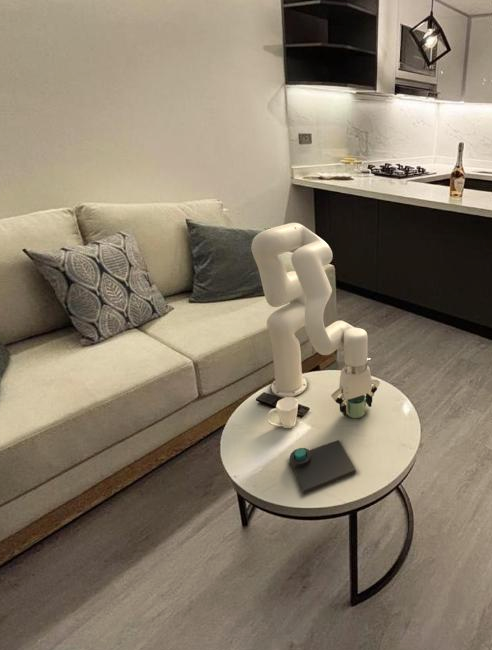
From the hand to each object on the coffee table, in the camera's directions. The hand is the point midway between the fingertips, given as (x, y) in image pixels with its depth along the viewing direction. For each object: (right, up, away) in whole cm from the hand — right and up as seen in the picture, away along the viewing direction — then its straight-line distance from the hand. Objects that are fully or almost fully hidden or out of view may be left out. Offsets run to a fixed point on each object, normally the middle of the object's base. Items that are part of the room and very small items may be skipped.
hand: (356, 408), depth 137 cm
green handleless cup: (0, -2, +1) cm, 2 cm away
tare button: (-14, -7, -21) cm, 26 cm away
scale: (-7, -10, -21) cm, 25 cm away
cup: (-23, -4, -6) cm, 24 cm away
